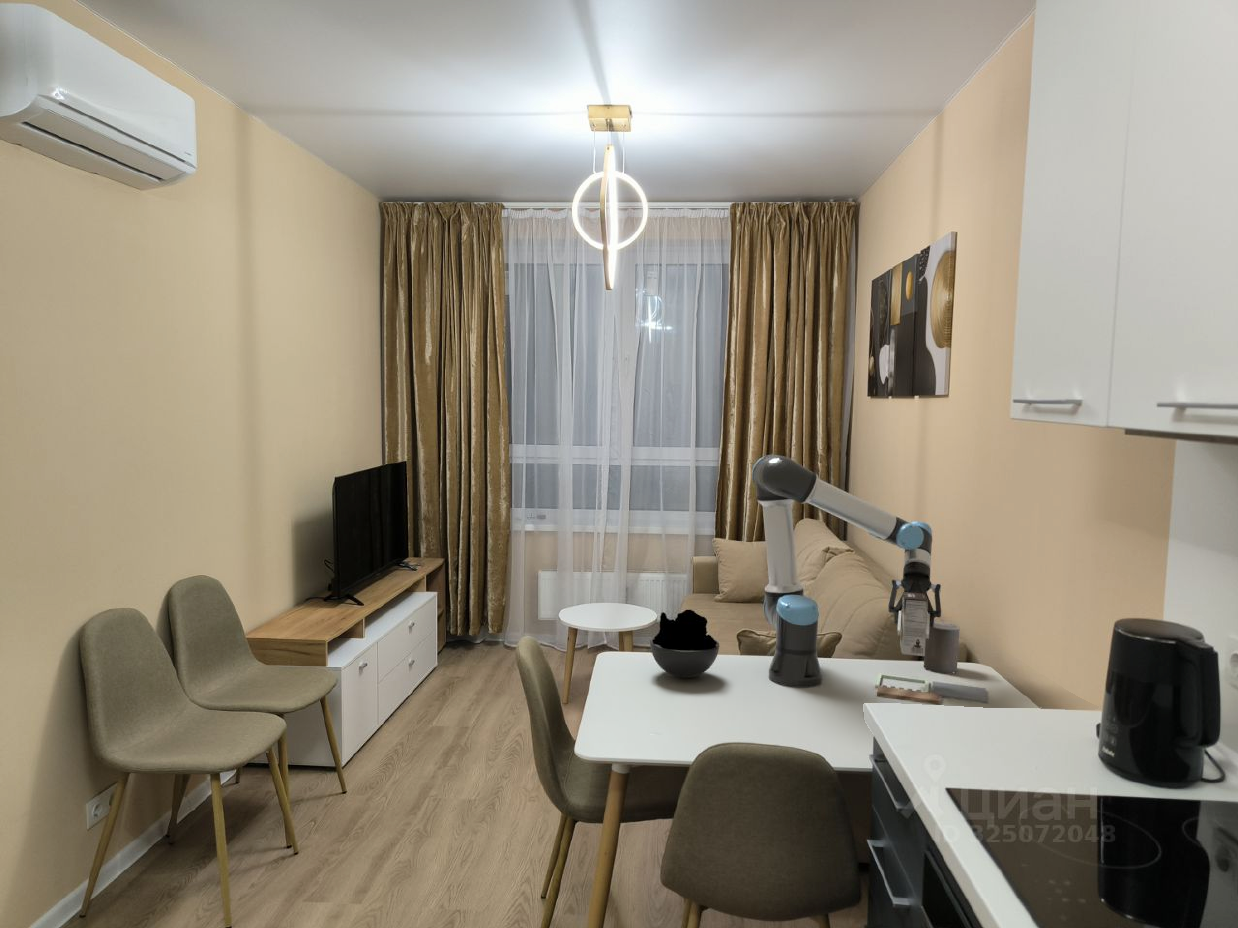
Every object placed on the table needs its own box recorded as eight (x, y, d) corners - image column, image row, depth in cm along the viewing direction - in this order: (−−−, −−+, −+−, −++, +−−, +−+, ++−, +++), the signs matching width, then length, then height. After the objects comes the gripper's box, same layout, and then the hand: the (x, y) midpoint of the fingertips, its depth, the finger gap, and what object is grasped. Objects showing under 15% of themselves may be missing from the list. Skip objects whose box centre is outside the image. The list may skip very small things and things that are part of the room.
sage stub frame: (875, 687, 227) (875, 684, 227) (878, 675, 238) (878, 673, 238) (928, 695, 222) (928, 692, 221) (928, 682, 233) (928, 679, 233)
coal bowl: (722, 669, 240) (724, 607, 239) (712, 690, 221) (715, 622, 220) (657, 663, 245) (659, 602, 244) (642, 682, 226) (643, 616, 225)
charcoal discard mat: (931, 695, 221) (932, 693, 221) (932, 683, 232) (932, 681, 232) (987, 703, 216) (987, 701, 216) (985, 690, 227) (985, 688, 227)
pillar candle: (919, 669, 246) (922, 621, 245) (927, 662, 254) (930, 615, 253) (953, 676, 240) (956, 626, 239) (960, 668, 248) (963, 620, 247)
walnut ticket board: (876, 695, 220) (876, 692, 220) (878, 689, 225) (878, 685, 225) (939, 704, 214) (939, 700, 214) (939, 697, 219) (939, 694, 219)
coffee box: (899, 645, 234) (902, 591, 233) (922, 648, 232) (925, 593, 231) (901, 654, 225) (904, 597, 224) (925, 656, 223) (928, 599, 223)
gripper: (952, 578, 238) (950, 645, 224) (882, 572, 246) (876, 637, 231) (953, 563, 233) (951, 631, 219) (882, 557, 240) (875, 623, 226)
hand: (913, 634), depth 225 cm, fingers closed on coffee box, 7 cm apart
